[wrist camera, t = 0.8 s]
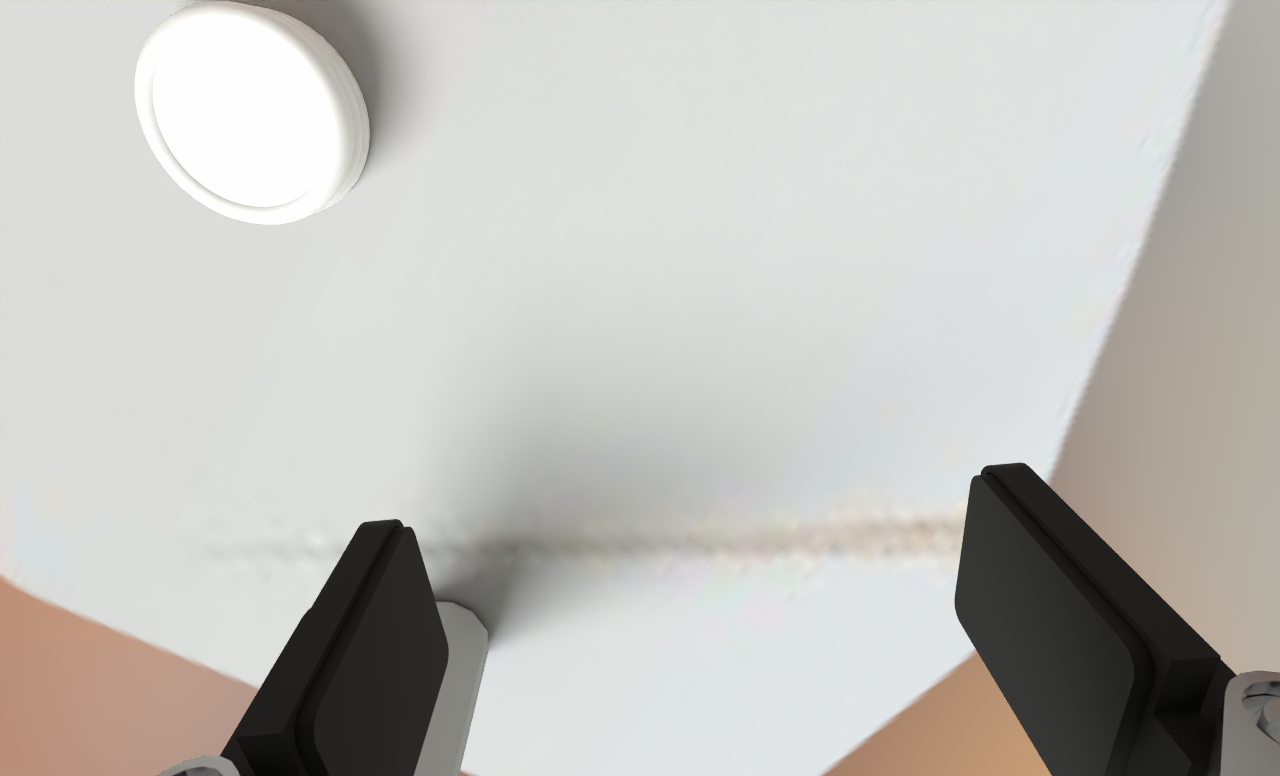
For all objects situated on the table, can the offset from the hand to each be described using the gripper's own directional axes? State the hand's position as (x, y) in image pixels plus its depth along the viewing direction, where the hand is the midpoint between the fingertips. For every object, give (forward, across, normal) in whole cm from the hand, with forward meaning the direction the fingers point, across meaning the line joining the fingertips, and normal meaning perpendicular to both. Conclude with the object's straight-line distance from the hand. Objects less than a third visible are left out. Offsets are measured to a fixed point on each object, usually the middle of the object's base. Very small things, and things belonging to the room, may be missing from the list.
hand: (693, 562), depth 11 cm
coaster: (+29, +19, -7) cm, 35 cm away
